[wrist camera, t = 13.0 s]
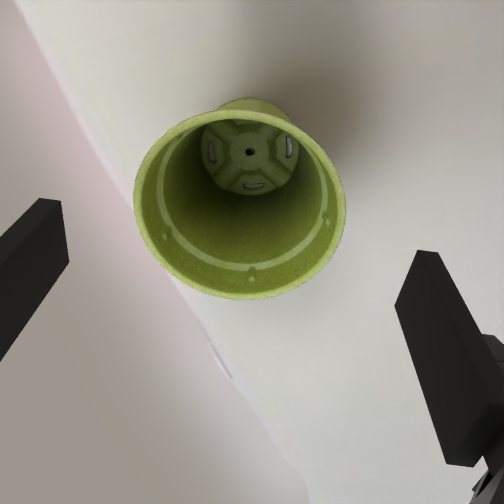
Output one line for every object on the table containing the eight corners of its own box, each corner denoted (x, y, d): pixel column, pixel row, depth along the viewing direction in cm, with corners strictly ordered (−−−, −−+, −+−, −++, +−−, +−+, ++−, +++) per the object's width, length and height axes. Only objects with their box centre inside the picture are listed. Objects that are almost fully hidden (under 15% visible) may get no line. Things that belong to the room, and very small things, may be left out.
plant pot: (189, 222, 29) (161, 306, 22) (155, 77, 24) (104, 125, 17) (328, 210, 28) (346, 294, 21) (323, 55, 23) (345, 97, 16)
